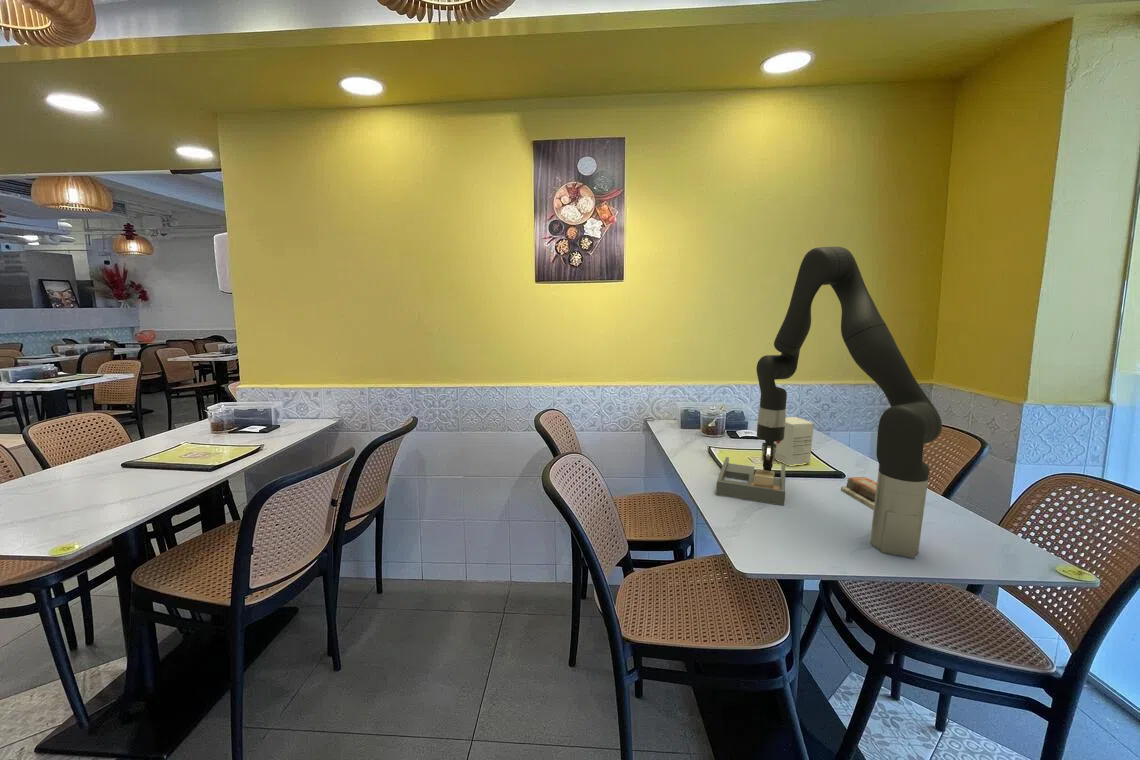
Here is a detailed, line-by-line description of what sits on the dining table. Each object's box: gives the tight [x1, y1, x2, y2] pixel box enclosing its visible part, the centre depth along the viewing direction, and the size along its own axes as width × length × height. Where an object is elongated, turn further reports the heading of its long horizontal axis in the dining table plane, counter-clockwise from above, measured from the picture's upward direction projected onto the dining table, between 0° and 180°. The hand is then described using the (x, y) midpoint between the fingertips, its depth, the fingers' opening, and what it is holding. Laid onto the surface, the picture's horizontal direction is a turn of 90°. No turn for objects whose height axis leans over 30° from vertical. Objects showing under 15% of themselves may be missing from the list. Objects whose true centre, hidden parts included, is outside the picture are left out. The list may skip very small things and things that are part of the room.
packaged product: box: [840, 476, 877, 511], centre depth 136 cm, size 18×5×10 cm
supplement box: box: [774, 416, 815, 465], centre depth 168 cm, size 9×9×15 cm
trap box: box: [715, 456, 786, 506], centre depth 147 cm, size 24×18×4 cm
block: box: [754, 468, 775, 489], centre depth 141 cm, size 6×5×4 cm
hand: (766, 478), depth 146 cm, fingers closed
